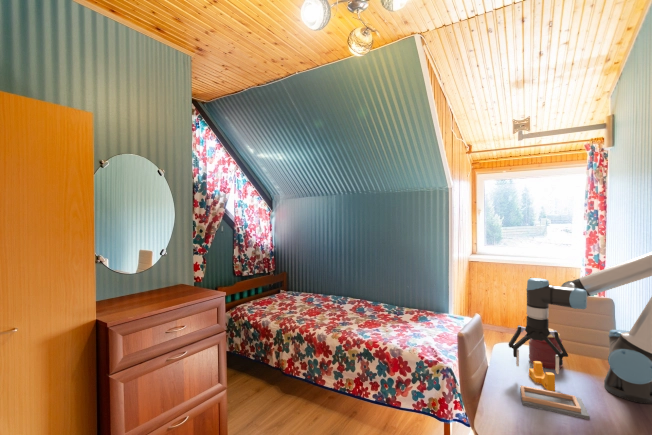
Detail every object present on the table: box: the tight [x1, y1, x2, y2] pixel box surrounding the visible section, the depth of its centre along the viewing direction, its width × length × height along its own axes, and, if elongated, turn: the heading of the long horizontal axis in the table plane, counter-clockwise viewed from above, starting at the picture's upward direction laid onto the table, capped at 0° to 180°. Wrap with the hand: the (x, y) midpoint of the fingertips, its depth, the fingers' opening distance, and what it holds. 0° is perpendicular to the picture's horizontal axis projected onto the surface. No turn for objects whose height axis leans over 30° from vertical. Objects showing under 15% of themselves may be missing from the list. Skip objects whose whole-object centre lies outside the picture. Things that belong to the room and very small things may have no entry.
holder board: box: [519, 385, 591, 420], centre depth 117 cm, size 19×12×2 cm, turn 63°
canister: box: [528, 327, 564, 370], centre depth 148 cm, size 13×13×18 cm
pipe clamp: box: [528, 361, 556, 392], centre depth 131 cm, size 12×4×6 cm, turn 170°
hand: (536, 368), depth 132 cm, fingers open, 13 cm apart
